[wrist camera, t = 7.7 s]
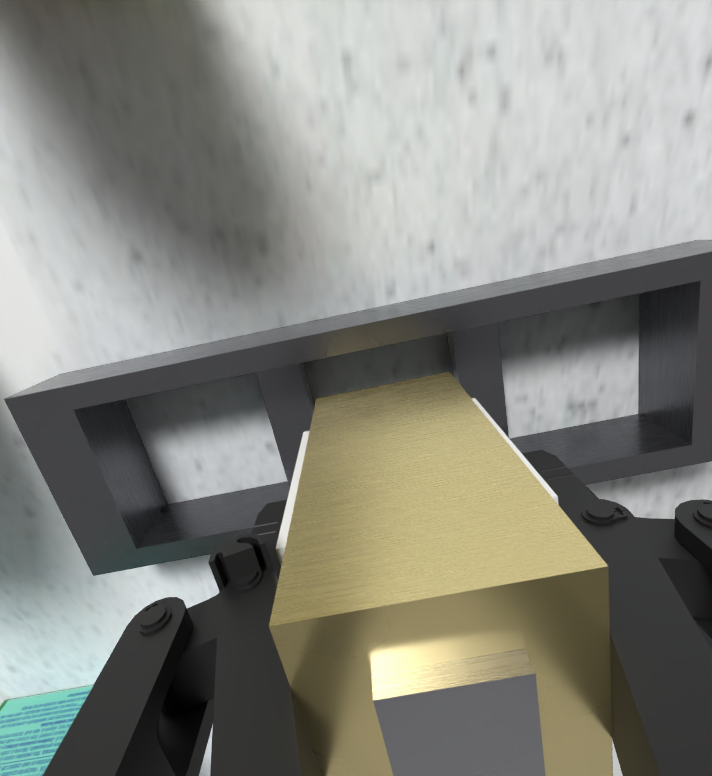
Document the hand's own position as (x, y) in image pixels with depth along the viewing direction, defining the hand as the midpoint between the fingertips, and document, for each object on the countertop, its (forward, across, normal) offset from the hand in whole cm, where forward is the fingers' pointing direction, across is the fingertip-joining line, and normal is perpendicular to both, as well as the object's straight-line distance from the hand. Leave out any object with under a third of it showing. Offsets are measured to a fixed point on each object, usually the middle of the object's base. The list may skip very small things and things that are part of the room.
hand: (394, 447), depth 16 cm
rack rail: (+5, 0, 0) cm, 5 cm away
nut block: (0, 0, 0) cm, 0 cm away
